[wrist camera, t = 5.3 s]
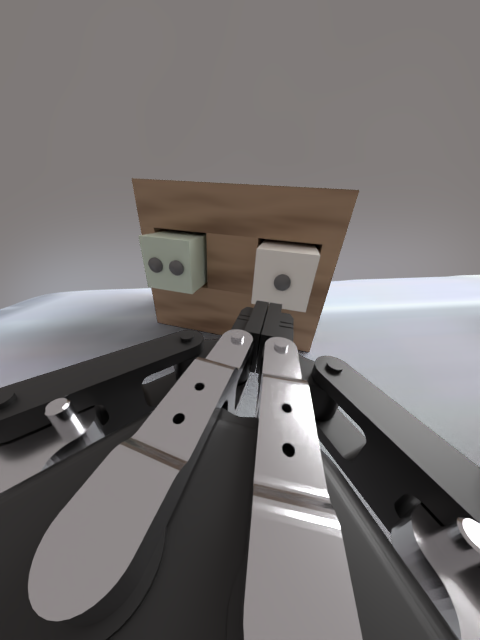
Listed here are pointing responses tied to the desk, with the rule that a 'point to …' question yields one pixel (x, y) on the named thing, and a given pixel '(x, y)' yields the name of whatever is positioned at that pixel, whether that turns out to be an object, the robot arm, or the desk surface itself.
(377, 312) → the desk surface
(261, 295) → the key one
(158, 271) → the key two
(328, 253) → the brown piece
